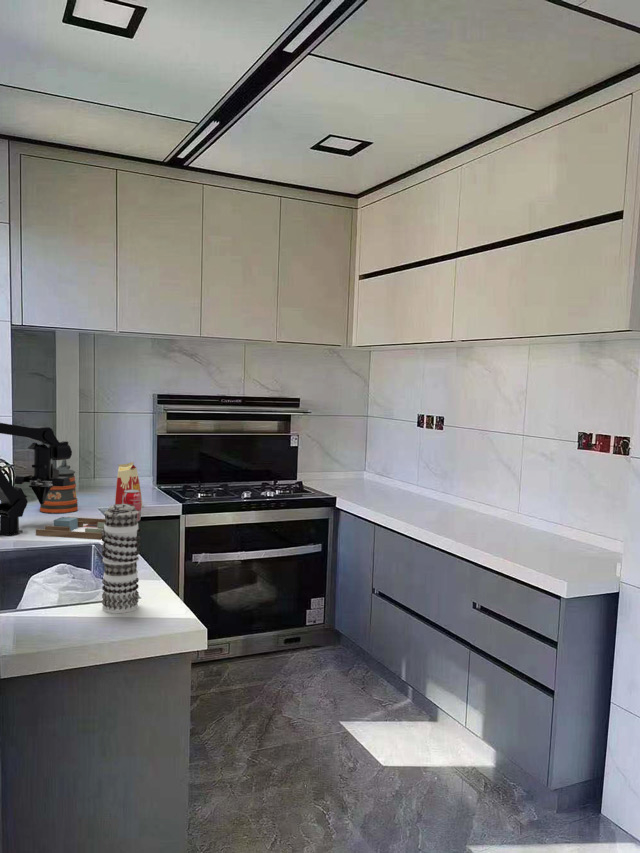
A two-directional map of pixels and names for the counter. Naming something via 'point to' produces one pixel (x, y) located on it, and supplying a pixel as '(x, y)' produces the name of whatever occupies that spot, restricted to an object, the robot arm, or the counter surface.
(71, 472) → the beer stein
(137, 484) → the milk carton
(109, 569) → the decorative candle
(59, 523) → the slate block
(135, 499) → the soda can
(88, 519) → the brown bars
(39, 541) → the counter surface
